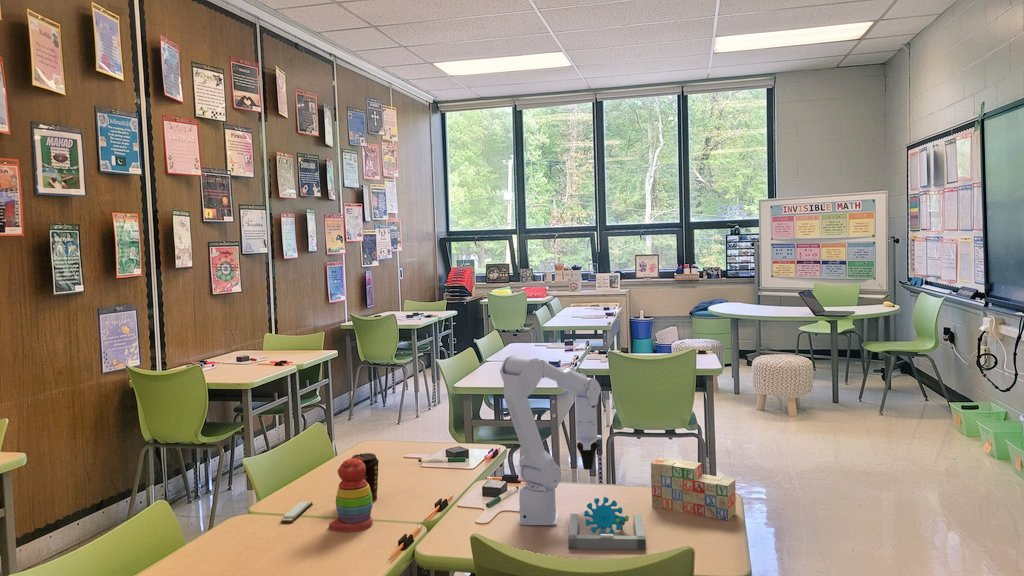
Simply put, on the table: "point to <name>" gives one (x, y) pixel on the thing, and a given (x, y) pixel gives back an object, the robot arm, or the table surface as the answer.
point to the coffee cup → (370, 472)
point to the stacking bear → (353, 498)
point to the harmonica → (296, 512)
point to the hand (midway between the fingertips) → (587, 468)
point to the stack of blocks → (691, 489)
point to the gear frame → (607, 537)
